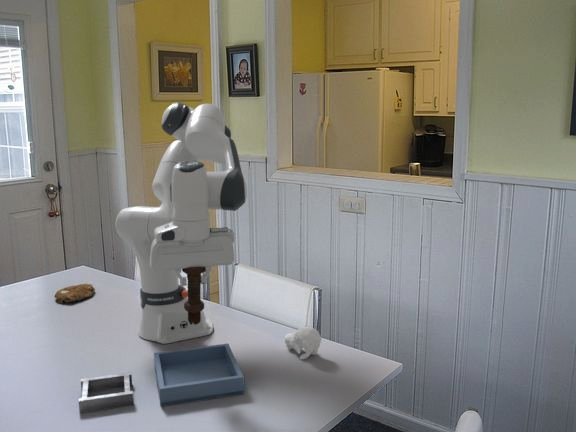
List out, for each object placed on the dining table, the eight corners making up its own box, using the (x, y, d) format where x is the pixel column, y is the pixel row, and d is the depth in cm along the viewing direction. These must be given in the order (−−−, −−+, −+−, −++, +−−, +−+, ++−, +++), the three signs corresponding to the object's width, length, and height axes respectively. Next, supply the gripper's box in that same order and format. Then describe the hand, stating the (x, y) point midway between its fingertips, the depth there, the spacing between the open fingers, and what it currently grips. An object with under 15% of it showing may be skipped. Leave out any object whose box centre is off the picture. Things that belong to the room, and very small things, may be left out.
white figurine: (306, 332, 154) (277, 324, 163) (308, 363, 155) (279, 352, 164) (322, 326, 158) (293, 318, 167) (324, 356, 159) (295, 346, 168)
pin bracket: (132, 383, 145) (131, 372, 144) (133, 405, 135) (132, 393, 134) (81, 390, 141) (81, 379, 141) (79, 413, 131) (78, 401, 131)
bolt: (207, 319, 145) (207, 262, 142) (204, 327, 140) (204, 268, 137) (184, 319, 145) (183, 262, 142) (180, 326, 140) (180, 267, 137)
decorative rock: (79, 290, 216) (48, 304, 203) (77, 279, 215) (47, 293, 202) (103, 292, 211) (73, 307, 198) (101, 282, 210) (71, 296, 197)
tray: (228, 358, 158) (228, 343, 157) (244, 394, 140) (243, 377, 139) (154, 368, 153) (153, 352, 152) (160, 406, 134) (159, 389, 133)
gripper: (231, 224, 144) (232, 276, 147) (148, 229, 138) (150, 284, 141) (236, 229, 138) (237, 284, 141) (149, 235, 132) (152, 292, 135)
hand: (193, 284), depth 141 cm, fingers closed on bolt, 4 cm apart
